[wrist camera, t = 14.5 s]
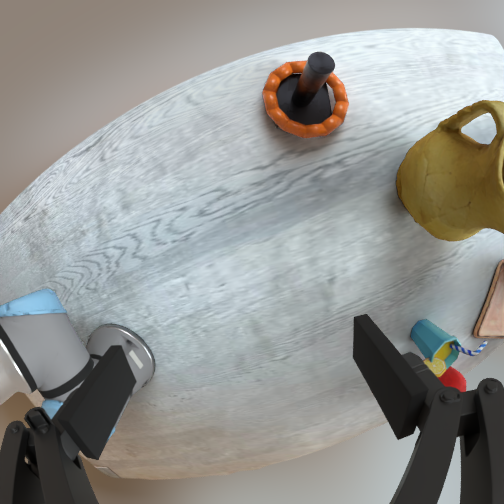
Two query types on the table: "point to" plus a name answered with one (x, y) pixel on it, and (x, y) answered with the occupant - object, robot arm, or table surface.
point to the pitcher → (456, 177)
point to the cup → (438, 346)
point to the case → (493, 309)
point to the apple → (453, 379)
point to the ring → (294, 126)
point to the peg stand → (307, 91)
